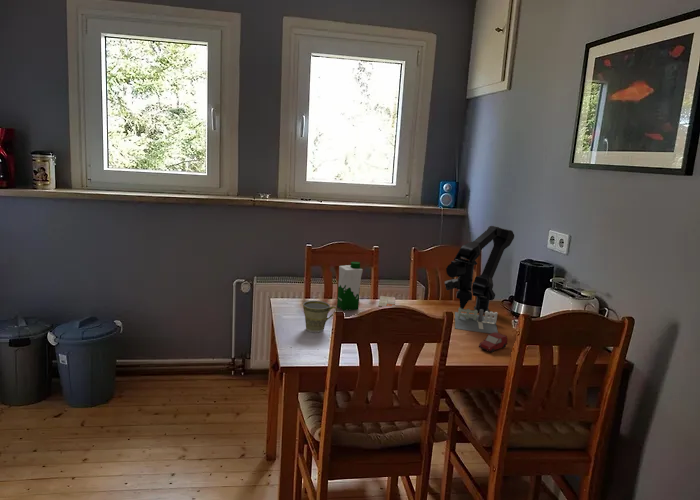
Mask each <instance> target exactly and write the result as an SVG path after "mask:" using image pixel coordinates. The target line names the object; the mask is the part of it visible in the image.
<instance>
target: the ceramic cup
mask: <svg viewBox="0 0 700 500" xmlns="http://www.w3.org/2000/svg"><path fill="white" fill-rule="evenodd" d="M302 307H303V315H304V320H305V321H304V323H305V329H306V332H308V333H312V334H313V333H314V334H315V333H316V334H319V333H322V332H324V330H325V326H326V322H328V320H329V319H330V318H332V317H333V316H334V315H333V314H334V313H332V314H331V315H329V317H328V314H329V313H330V311H331V310H333V309H335V310H336V311H335V312H337V313H338V308H337V307H336V306H331V305H330V304H329V303H328V302H326V301H322V300H307V301H305V302H303V304H302Z"/></svg>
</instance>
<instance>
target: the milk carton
mask: <svg viewBox="0 0 700 500" xmlns="http://www.w3.org/2000/svg"><path fill="white" fill-rule="evenodd" d="M363 270H364V269H363V268H362V267H361V262H360V261H350V264H348V265H347V264H345V265H339V266H338V285H337V286H338V287H337V298H336V299H337V300H336V306H337V307H338V308H340V309H341V310H342V311H356V310H358V311H359V306H360V305H359V304H360V294H361V293H360V292H361V282H362V281H361V279H362V275H363V272H364V271H363Z"/></svg>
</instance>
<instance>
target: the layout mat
mask: <svg viewBox="0 0 700 500" xmlns="http://www.w3.org/2000/svg"><path fill="white" fill-rule="evenodd" d="M466 313H467V312H461V314H466ZM469 315H474V313H469ZM484 317H485V315H483V319H482V322H478V319H479V314H477V318H476V320H473V319H474V318H470V317H469V318H468V319H466V317H463V316H460V318H458V311H454V329H456V330H460V331H461V330H462V331H469V332H477V333H481V334H482V333H483V334H491V333H494V332H497V333H499V330H498V327H497V322H496V323H494V321H492V322H491V323H490V322H489V320H487V322H484ZM488 317H490V315H488ZM492 318H494V316H492Z"/></svg>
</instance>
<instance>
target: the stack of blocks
mask: <svg viewBox="0 0 700 500" xmlns="http://www.w3.org/2000/svg"><path fill="white" fill-rule="evenodd" d="M392 305H395V306H396V297H394V296H384V295H379V301H378V305H377V308H378V307H382V306H392Z"/></svg>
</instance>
